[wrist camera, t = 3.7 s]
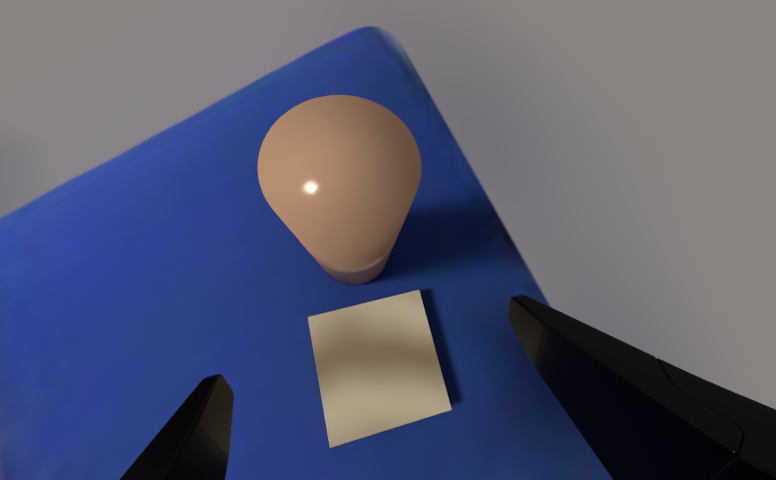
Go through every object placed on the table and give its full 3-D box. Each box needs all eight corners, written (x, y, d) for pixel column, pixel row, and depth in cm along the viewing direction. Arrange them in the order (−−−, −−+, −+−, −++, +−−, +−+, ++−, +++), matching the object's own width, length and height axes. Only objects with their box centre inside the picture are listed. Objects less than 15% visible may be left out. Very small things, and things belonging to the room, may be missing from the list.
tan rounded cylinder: (401, 244, 22) (450, 152, 10) (360, 299, 21) (356, 275, 8) (348, 206, 23) (329, 70, 10) (305, 257, 21) (221, 174, 9)
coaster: (448, 405, 19) (451, 409, 19) (331, 442, 18) (330, 447, 17) (417, 290, 21) (419, 289, 20) (309, 317, 20) (307, 317, 19)
